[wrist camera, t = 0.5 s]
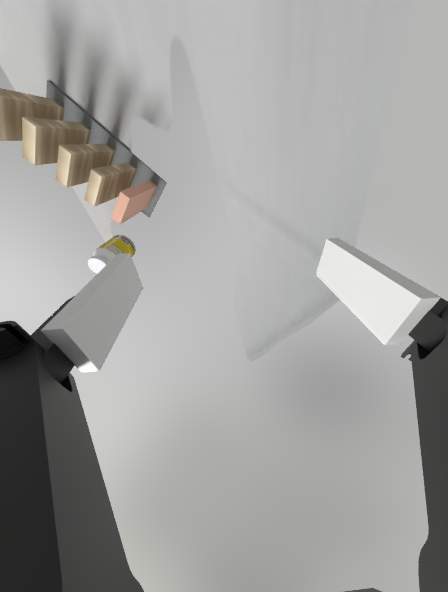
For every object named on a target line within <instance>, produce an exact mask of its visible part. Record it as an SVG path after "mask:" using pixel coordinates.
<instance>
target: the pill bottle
mask: <svg viewBox="0 0 448 592" xmlns="http://www.w3.org/2000/svg"><path fill="white" fill-rule="evenodd" d="M122 253H130V255H131V257H132V256H133V255H134V254H135V246H134V243H133V242H132V241H131V240H130V239H129V238H127V237H125V236H123V235H117V236H114V237H113V238H111V239H110V240H109V241H107V242H106V243H104V244H103V245H102V246H100V247H99V248H97V249H96V250H95V251H94V253H93V257H91V258H90V259H89V260H88V265H89V267H90V268H91V270H92V271H94V272H95V273H97V274H98V273H99V272H100V271H101V270H102V269H103V268H104V267H105V266H106V265H107V264H108V263H109V262H110V261H111V260H112V259H113V258H114V257H115V256H116V255H117V254H122Z"/></svg>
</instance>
